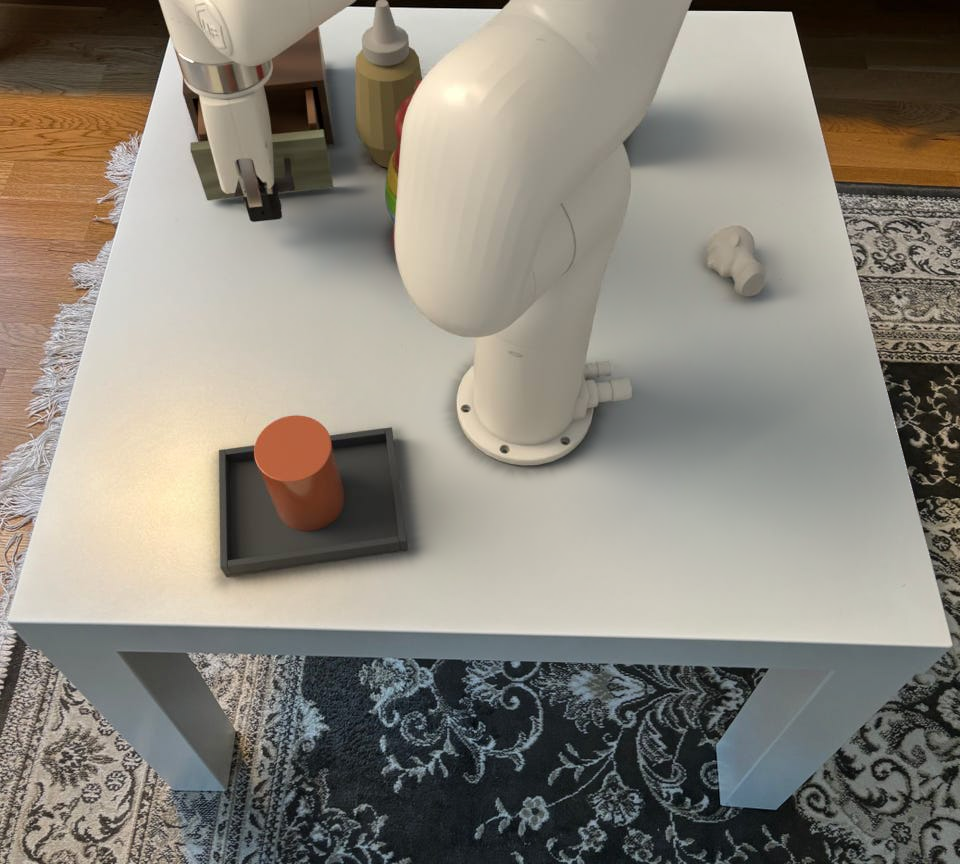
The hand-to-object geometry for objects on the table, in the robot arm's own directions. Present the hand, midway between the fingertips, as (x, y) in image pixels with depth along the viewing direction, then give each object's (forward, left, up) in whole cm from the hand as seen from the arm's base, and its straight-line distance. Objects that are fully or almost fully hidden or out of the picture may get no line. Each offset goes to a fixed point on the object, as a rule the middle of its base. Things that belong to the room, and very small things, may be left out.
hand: (266, 214), depth 90 cm
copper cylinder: (-2, +31, -3) cm, 32 cm away
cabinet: (0, -20, -4) cm, 21 cm away
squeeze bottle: (-14, -11, -4) cm, 19 cm away
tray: (-2, +32, -4) cm, 32 cm away
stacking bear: (-17, +3, -4) cm, 18 cm away
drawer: (0, -10, -3) cm, 10 cm away
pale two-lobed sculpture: (-46, +12, -4) cm, 48 cm away
